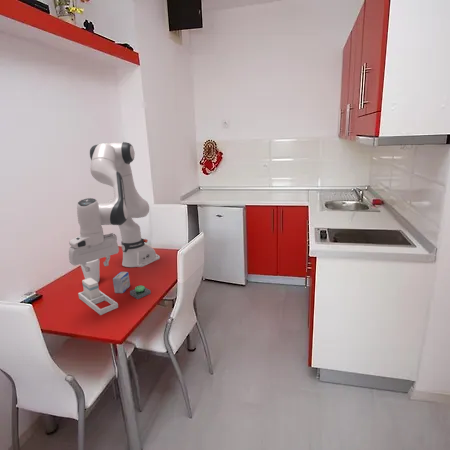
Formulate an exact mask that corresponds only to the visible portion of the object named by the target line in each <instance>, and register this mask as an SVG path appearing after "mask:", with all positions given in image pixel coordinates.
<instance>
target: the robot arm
mask: <svg viewBox="0 0 450 450" xmlns="http://www.w3.org/2000/svg"><path fill="white" fill-rule="evenodd" d="M135 152H136V151H135V149H134V146H133V144H131V142H124V141H123V142H108V143H106V142H102V143H99V144H95V145H93V146H91V148H90V150H89V157H90V167H89V168H90V170H89V171H90V174H91V176H92V178H93V179H94V180H96V181H97V182H99V183H100V184H103V185H107V186H110V187H113V192H114V193H113V194H114V198H113V199H109V200H108V202H98V200H97V199H96V198H91V197H88V198H87V197H86V198H84V199H80V200H79V201H78V202H77V204H76V214H77V215H76V216H77V221H78V224H79V228H80V229H79V234H78V235H77V236H76V237H73V238H72V239H69V241H68V242H69V243H68V244H69V246H70V247H69V248H68V260H69V263H70V265H73V266H80V264H81V265H82V266H83V267H84V268H85V271H86V272H89V271H90V267H86V266H85V265H87V264H86V262H89V261H93V260H96V259H99V260H100V259H102V258H105V260H104V261H103V266H104V267H108V266H109V262H110V259H111V256H113V255H117V254H119V252H120V248H119V244H118V242H117V241H118V236H117V234H115V233H114V232H112V233H111V232H110V233H108V234H104V228H103V227H102V226H110V225H111V226H118V228H119V232H120V236H121V237H120V238H121V250H122V263H121V265H122V266H123V267H126V268H136V267H137V268H142V267H145V266H147V265H149V264H151V263H154V262H156V261H158V260H160V259H161V257H160V255H159V254H157V253H156V250H155V249H154V248H153V247H152V246H149V245H148V244H147V243H148V241H149V240H148V239H146V238H142V231H141V227H140V225H139V224H138V223H136V222H135V221H134V219H140V218H145V217H147V216H148V215H149V212H150V205H149V202H148V201H147V200H146V199H144V198H143V197H142V196H141V195H140V194H139V192H138V189H137V188H136V186H135V181H134V178H133V172H132V166H131V163H133V161H134V160H135V155H136V154H135Z"/></svg>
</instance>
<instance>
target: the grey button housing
mask: <svg viewBox="0 0 450 450" xmlns="http://www.w3.org/2000/svg"><path fill="white" fill-rule="evenodd" d="M151 294H152V292H151V290H150V289H149V288H148V287H145V290H144V291H142V292H140V293H139V292H136V291H135V288H134V289H131V290H129V295H130V296H131V297H133V298H134V299H137V300H139V299H141V298H144V297H147V296H148V295H151Z"/></svg>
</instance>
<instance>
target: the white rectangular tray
mask: <svg viewBox="0 0 450 450" xmlns="http://www.w3.org/2000/svg"><path fill="white" fill-rule="evenodd" d="M99 293H100V297H97V298H95V299H92V300H89V299H87V298H86V297H85V294H84V290H83V291H80V292H78V293H77V295H78V299H79V300H81V301H82V302H83V304H86V305H87V306H88V307H89V308H90V309H92V310H94V312H96V313H97V314H98V315H99V316H102V315H104V314H107V313H109V312H112V311H113V310H115V309H118V308H119V304H118V302H117V301H115V300H114V299H113V298H111V297H110V296H108V295H106V294H105V293H104V292H102V291H101V290H100V289H99ZM104 301H105V302H107V303H109V304H110V305H108V306H105V307H102V308H100V307H99V306H98V305H97V304H99V303H102V302H104Z"/></svg>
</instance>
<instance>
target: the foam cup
mask: <svg viewBox="0 0 450 450" xmlns="http://www.w3.org/2000/svg"><path fill="white" fill-rule="evenodd" d="M86 264H87V265H85V266H86V267H90V271H89V272H86V271H85V268H84V267H83V266H82V265H81V264H79V266H80V268H81V271H82V273H83V277H84V280H85V279H88V278H92V279H94V280H95V281H97V282H98V283H99V282H100V276H101V275H100V259H96V260H93V261H89V262H86Z"/></svg>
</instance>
